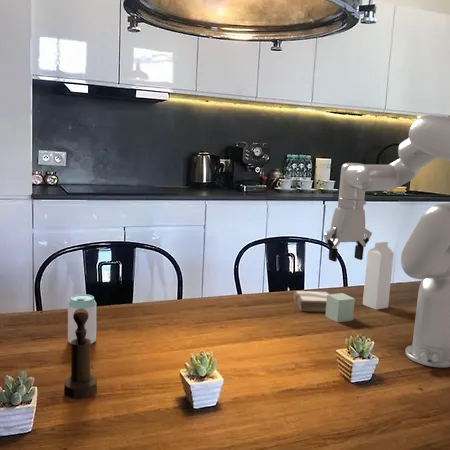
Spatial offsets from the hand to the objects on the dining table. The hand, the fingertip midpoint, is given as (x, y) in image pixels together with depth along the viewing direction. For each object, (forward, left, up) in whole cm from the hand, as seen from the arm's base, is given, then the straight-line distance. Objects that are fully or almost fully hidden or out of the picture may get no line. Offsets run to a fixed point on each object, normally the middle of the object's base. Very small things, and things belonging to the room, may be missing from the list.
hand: (345, 259), depth 163 cm
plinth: (+7, +10, -19) cm, 22 cm away
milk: (+18, -8, -19) cm, 27 cm away
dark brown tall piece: (-78, +37, -19) cm, 88 cm away
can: (-57, +54, -19) cm, 81 cm away
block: (-1, 0, -19) cm, 19 cm away
